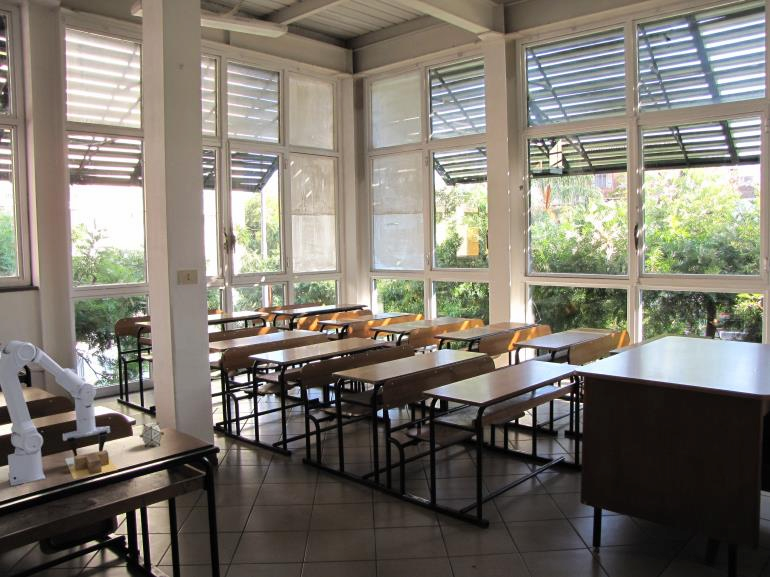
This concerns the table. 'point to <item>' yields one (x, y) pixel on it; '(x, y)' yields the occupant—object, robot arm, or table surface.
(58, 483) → the table surface
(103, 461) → the T block
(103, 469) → the mat
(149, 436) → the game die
